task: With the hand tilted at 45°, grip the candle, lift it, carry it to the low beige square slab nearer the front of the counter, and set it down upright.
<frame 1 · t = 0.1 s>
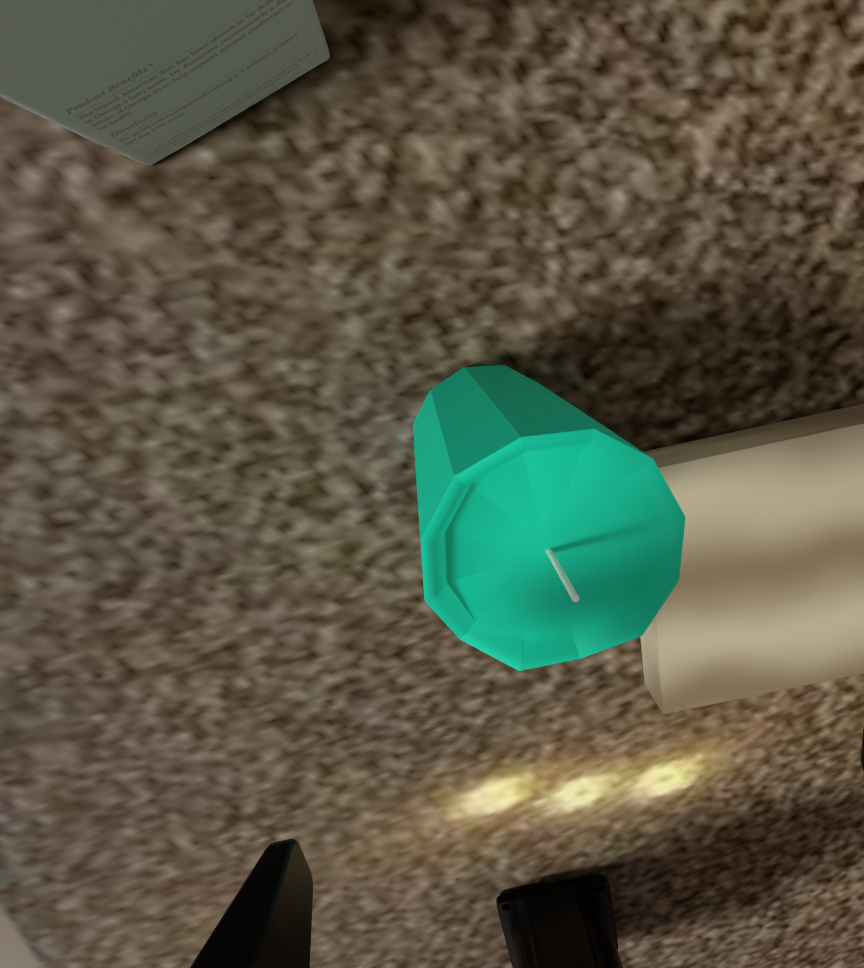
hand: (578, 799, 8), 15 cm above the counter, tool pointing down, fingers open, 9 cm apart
beige square slab: (755, 554, 24), on the counter
candle: (484, 437, 22), on the counter
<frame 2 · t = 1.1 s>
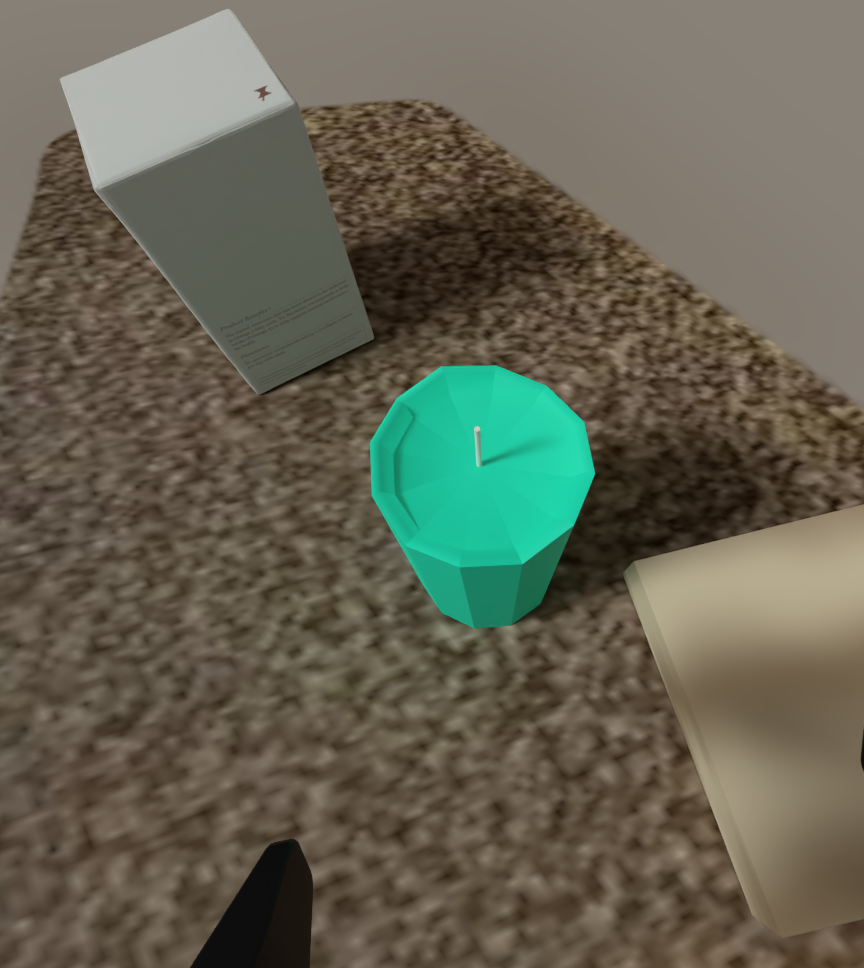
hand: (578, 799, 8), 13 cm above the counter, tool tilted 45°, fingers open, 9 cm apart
beige square slab: (820, 689, 20), on the counter
candle: (485, 561, 24), on the counter
supplement box: (295, 326, 30), on the counter
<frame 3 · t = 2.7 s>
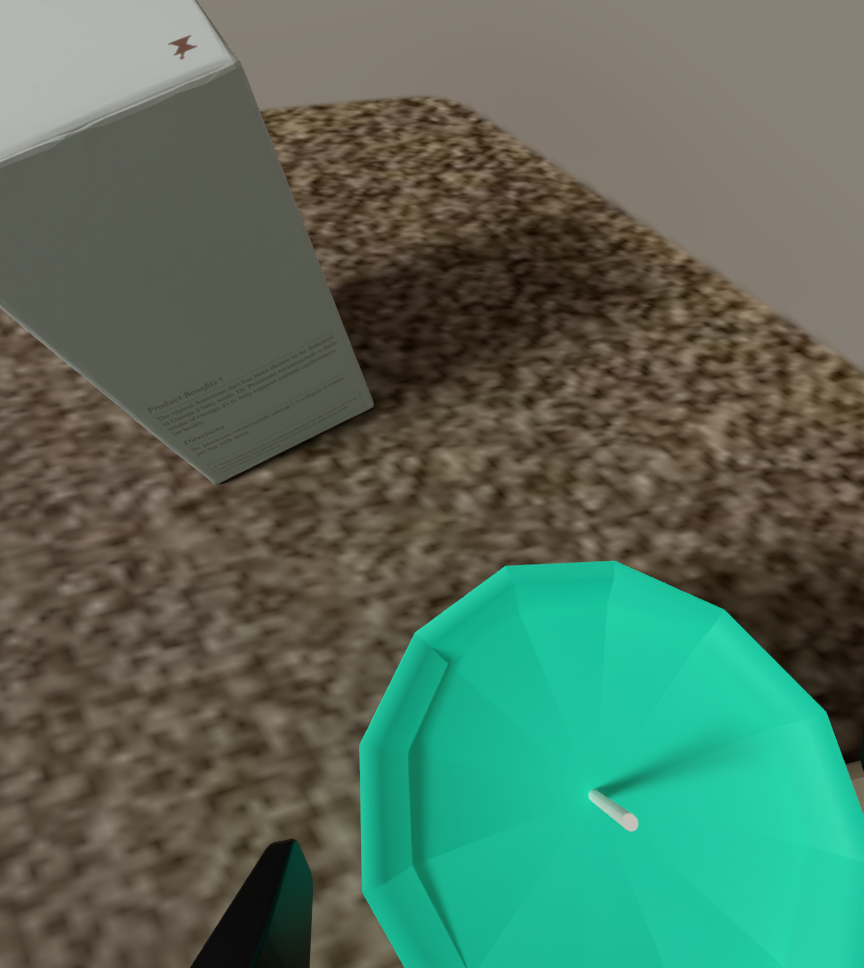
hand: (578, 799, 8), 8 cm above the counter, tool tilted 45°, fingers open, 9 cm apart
candle: (538, 754, 16), on the counter
supplement box: (269, 387, 23), on the counter
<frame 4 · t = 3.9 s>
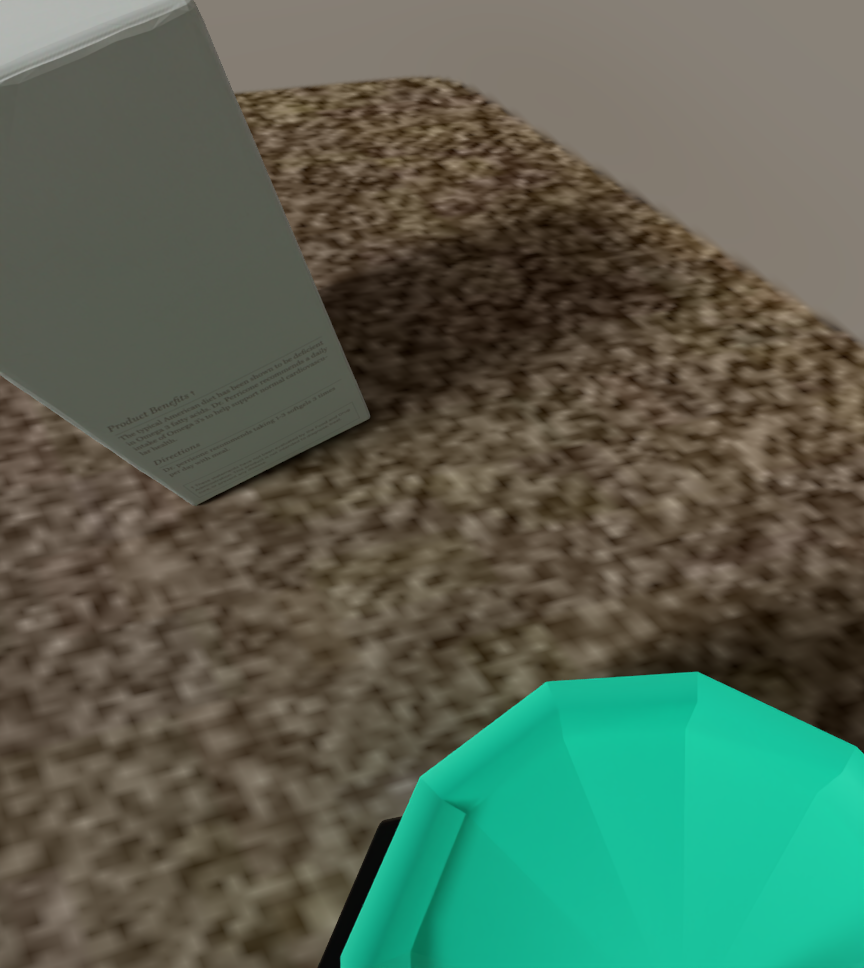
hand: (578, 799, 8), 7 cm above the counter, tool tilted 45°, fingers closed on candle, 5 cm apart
candle: (558, 824, 14), on the counter, touching gripper
supplement box: (254, 395, 21), on the counter
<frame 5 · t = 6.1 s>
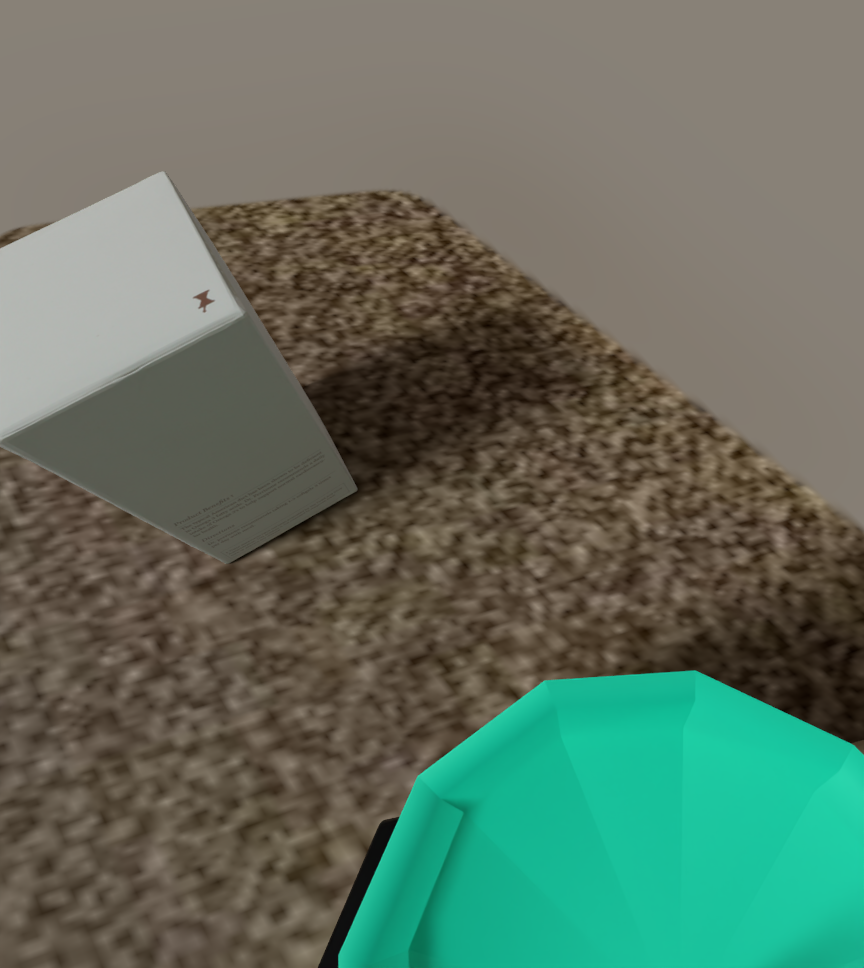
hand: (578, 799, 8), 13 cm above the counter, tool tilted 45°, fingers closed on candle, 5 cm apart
candle: (557, 821, 14), point 6 cm above the counter, touching gripper
supplement box: (266, 472, 27), on the counter
when the fingers open (10 cm above the counter, at t = 8.4 s): candle stays where it is, resting on beige square slab.
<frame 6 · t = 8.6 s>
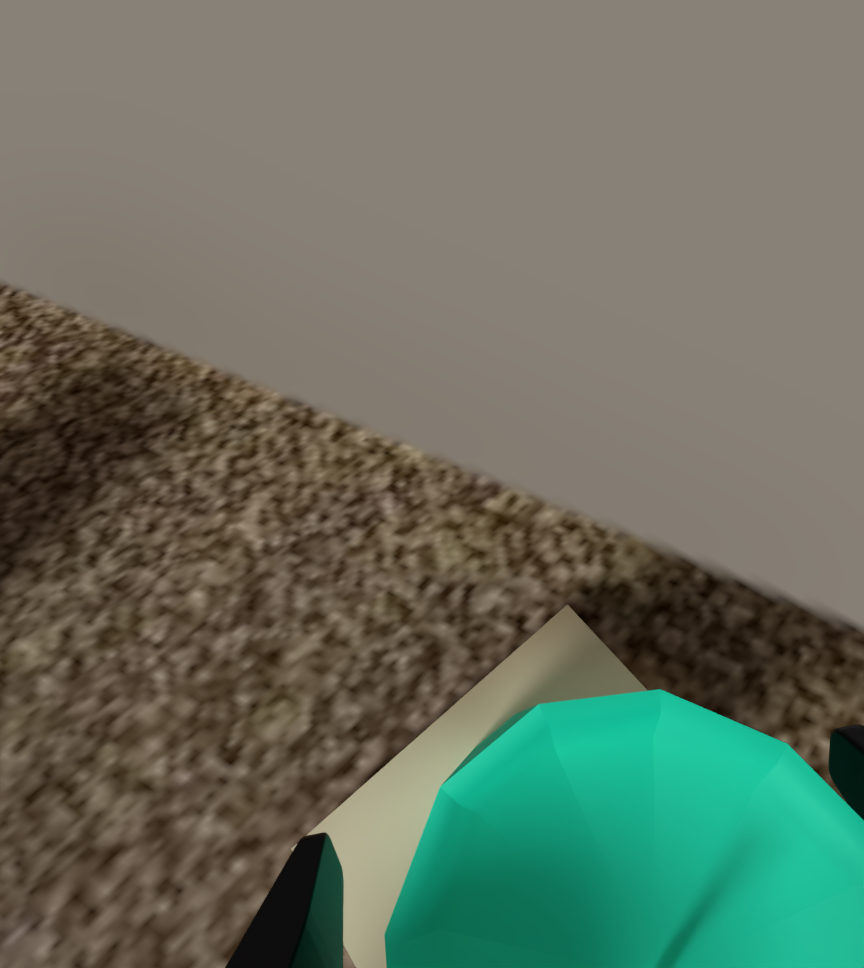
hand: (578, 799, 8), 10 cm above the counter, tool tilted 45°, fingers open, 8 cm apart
beige square slab: (569, 890, 16), on the counter
candle: (559, 821, 15), point 2 cm above the counter, touching beige square slab
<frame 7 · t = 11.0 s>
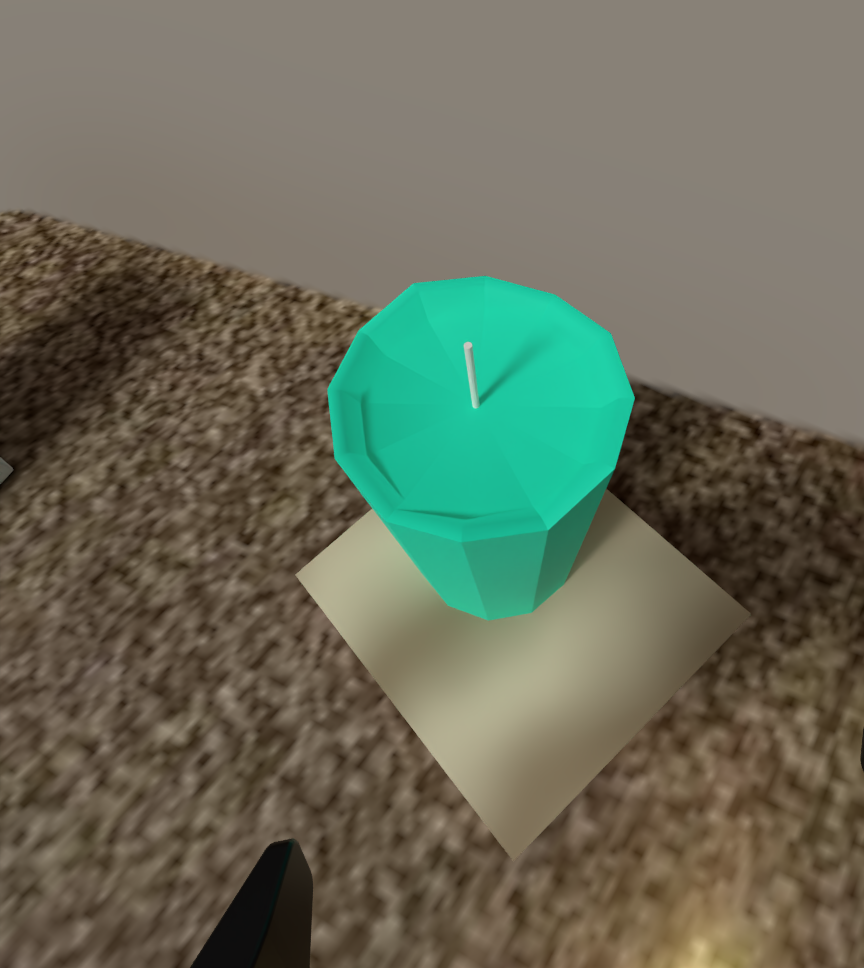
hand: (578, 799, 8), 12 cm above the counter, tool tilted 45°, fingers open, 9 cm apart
beige square slab: (507, 602, 21), on the counter
candle: (494, 540, 20), point 2 cm above the counter, touching beige square slab
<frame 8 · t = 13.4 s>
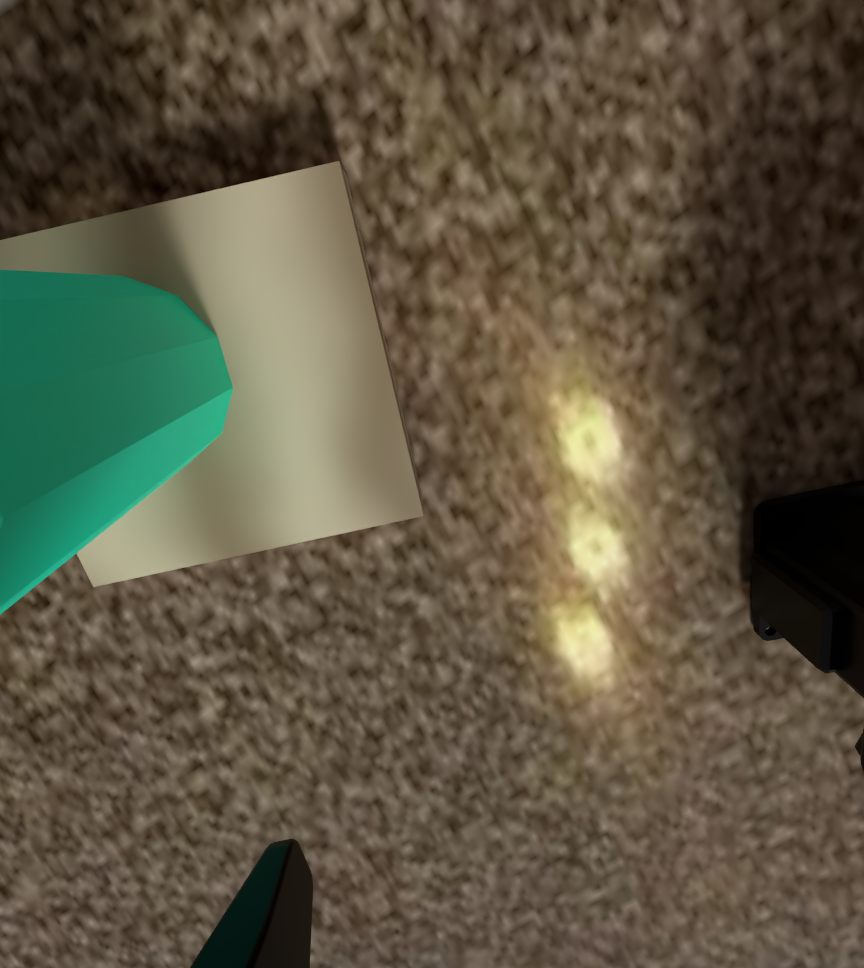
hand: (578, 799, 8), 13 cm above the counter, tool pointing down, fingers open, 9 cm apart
beige square slab: (221, 389, 19), on the counter
candle: (137, 378, 17), point 2 cm above the counter, touching beige square slab
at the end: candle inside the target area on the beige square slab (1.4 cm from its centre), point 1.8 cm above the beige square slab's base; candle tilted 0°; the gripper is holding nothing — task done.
